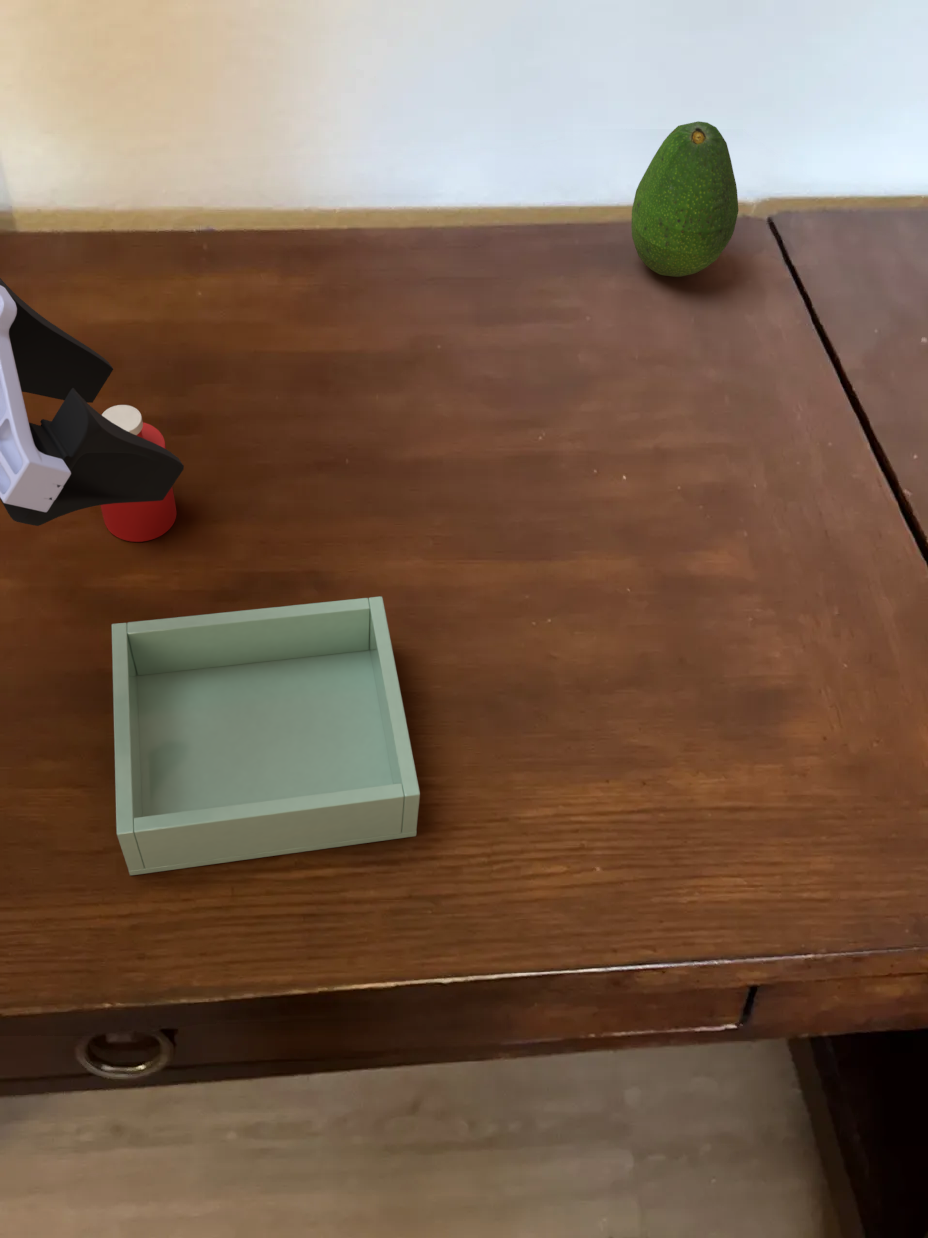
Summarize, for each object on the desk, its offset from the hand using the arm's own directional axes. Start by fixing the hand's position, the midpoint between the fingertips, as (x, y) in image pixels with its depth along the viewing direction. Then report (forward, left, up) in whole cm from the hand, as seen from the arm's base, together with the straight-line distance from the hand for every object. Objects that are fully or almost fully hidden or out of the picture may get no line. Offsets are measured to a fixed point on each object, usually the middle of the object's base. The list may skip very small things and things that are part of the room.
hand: (134, 429), depth 56 cm
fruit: (+39, +31, -17) cm, 53 cm away
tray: (+4, -8, -17) cm, 19 cm away
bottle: (-2, +10, -17) cm, 20 cm away
